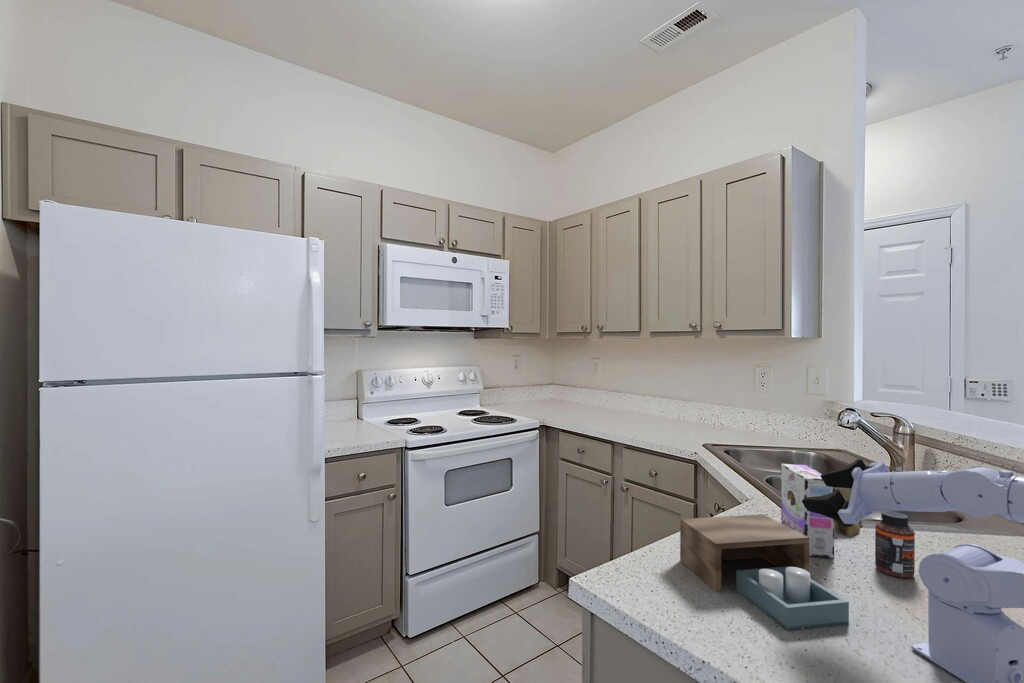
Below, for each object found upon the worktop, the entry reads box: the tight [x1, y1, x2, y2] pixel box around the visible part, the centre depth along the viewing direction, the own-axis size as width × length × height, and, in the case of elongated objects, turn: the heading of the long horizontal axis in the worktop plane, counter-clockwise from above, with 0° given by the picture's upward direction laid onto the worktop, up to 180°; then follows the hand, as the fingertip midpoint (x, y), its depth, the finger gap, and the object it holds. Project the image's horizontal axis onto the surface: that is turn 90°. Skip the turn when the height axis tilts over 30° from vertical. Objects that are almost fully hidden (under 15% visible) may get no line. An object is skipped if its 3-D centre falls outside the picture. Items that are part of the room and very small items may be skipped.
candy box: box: [780, 463, 835, 559], centre depth 102 cm, size 14×6×16 cm, turn 168°
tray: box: [735, 566, 850, 631], centre depth 77 cm, size 12×11×5 cm
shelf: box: [679, 513, 810, 593], centre depth 89 cm, size 12×19×8 cm, turn 100°
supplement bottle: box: [874, 511, 916, 579], centre depth 89 cm, size 6×6×11 cm
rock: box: [834, 487, 863, 538], centre depth 111 cm, size 11×9×10 cm
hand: (814, 492), depth 81 cm, fingers open, 7 cm apart
